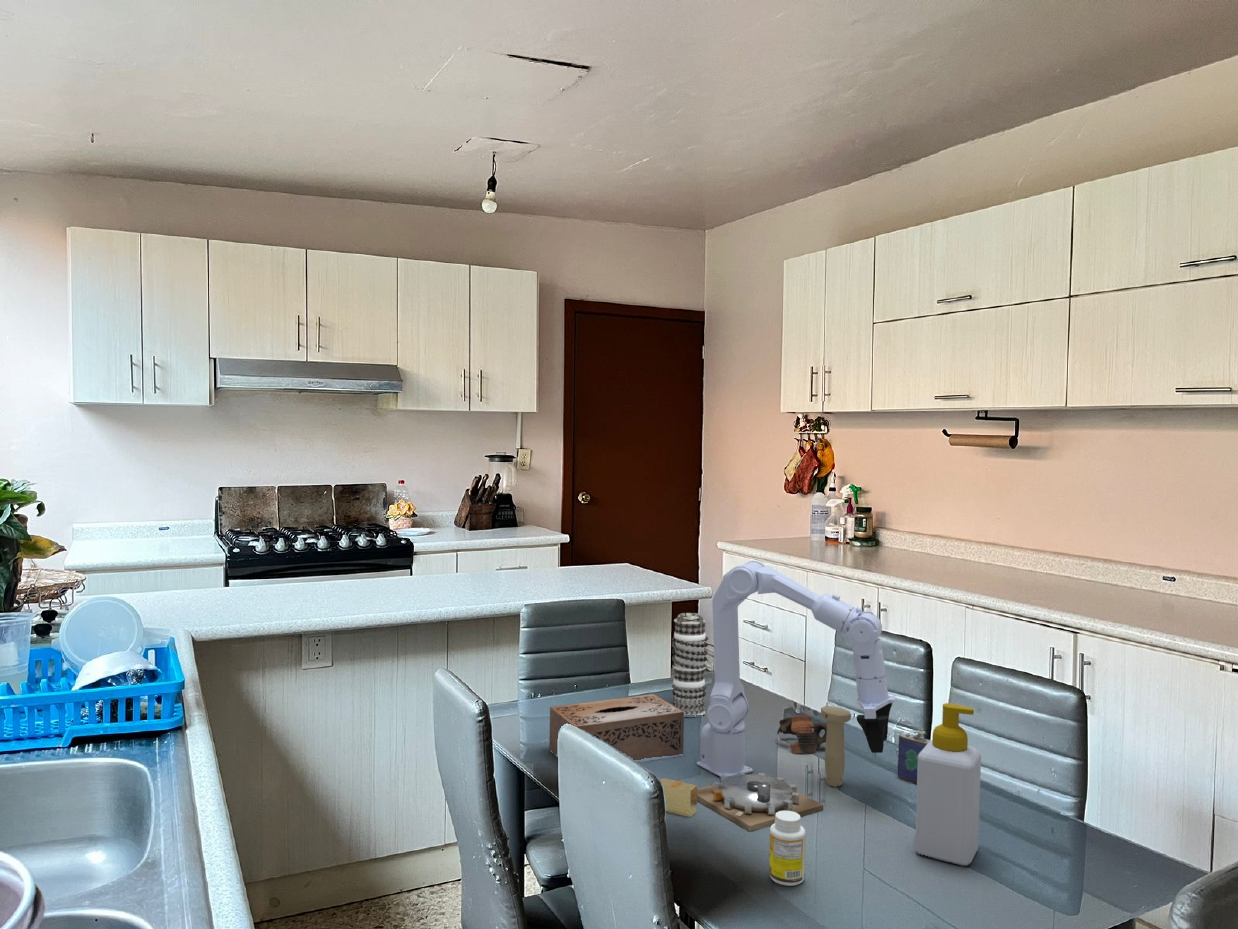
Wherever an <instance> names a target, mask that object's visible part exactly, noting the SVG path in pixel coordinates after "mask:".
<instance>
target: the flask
mask: <svg viewBox="0 0 1238 929" xmlns="http://www.w3.org/2000/svg"><path fill="white" fill-rule="evenodd" d="M925 734H926V731H925V730H916V734H912V733H910V732H907V733H900V734H899V737H898V752H897V753H898V754H897V779H899V780H902V781H904V782H908V783H911V784H915V785H917V770H918V755H919V753H920V752H921V751H922V750H923V748H924V747H925V746H926V745H927V744H928V743H929V742H930V741H932V739H927V738H925Z"/></svg>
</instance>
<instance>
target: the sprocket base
mask: <svg viewBox="0 0 1238 929" xmlns="http://www.w3.org/2000/svg"><path fill="white" fill-rule="evenodd" d="M758 774H759V773H757V774H754V775H758ZM797 793H800V796H799V803H792V810H789V811H793V812H796V813H798V814H799V815H800V817H805V816H808V815H811V814H815V813H818V812H822V811H824V804H822V802H821V803H820V802H818V801H816V799H812V798H811V797H809V796H807V795H804V794H803V793H801V792H799V791H797ZM697 802H699V803H701V804H702V805H704V806H705V807H707V808H708V809H710V810H713V811H714V812H716V813H718V814H719V815H721V816H722V817H724V818H726V819H727V820H729V821H731V822H733V823H734V824H736V825H738V826H740V827H741V828H743V829H744V830H747V831H748V832H753V831H757V830H760V829H763V828H766V827H771V826H772V825H773V824H774V823H775V815H776V813H777V812H779V811H787V810H785V809H780V810H776V811H775V814H769V815H768V813H767V812H757V811H752V813H751V814H749V813H745V810H743V809H739V808H735V807H733V808H730V809H728V808H726V807H724V803H725V802H723V801H722V800H716V801H715V800H714V798H713V792H712V784H711V785H707V786H705V787H704V786H703V787H700V788H697Z"/></svg>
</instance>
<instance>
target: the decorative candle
mask: <svg viewBox="0 0 1238 929" xmlns="http://www.w3.org/2000/svg"><path fill="white" fill-rule="evenodd" d="M673 621H674V623H675V625H674V633H673V637H672V638H671V640H672V642H671V647H672V649H671V653H672V658H671V660H672V664H671V665H672V668H673V669H674V675H673V676H674V677H673V684H672V685H671V687H672V689H673V690H672V691H671V694H672V695H673V696H672V698H671V702H672V703H671V705H673V706H675V707H676V708H678V709H680V710H682V711H683V712H684V715H695V716H696V715H703V714H706V711H705V710H706V708H707V706H706V705H705V704H706V701H707V700H706V698H705V696H706V695H707V693H706V692H705V691H706V689H707V686H706V685H705V682H706V681H705V680H706V679H705V670H706V669H707V665H706V664H705V662H706V661H708V657H706V655H708V651H707V650H706V649H705V648H707V647H708V646H709V644H708V643H707V641H709V637H707V636H706V635H707V634H706V633H707V632H706V622H707V620H705V619H704V617H703V615H701V614H700V613H695V612H682V613H680V614H678V615H677V617H676V618H674V620H673Z"/></svg>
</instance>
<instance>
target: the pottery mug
mask: <svg viewBox="0 0 1238 929" xmlns="http://www.w3.org/2000/svg"><path fill="white" fill-rule="evenodd" d="M778 722H779V725H780V726H779V727H778V729H777V732H776V734H777V735H779V734H780V733H781V734H784V735H789V734H790V735H792V736H796V738H797V741H796V742H792V743H790V744H789V746H790V749H791V753H792V754H793V755H795V754H801V753H807V754H815V753H816V754H817V748H821V745H823V743H825V744H826V736H827V723H824V722H818V723H814V722H813V721H812V717H811V716H808V715H798V716H796V715H795V716H790V717H786V718H783V719H781V720H779V721H778ZM822 730H824V734H823V735H822V737H821V736H820V733H821V732H822Z"/></svg>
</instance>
